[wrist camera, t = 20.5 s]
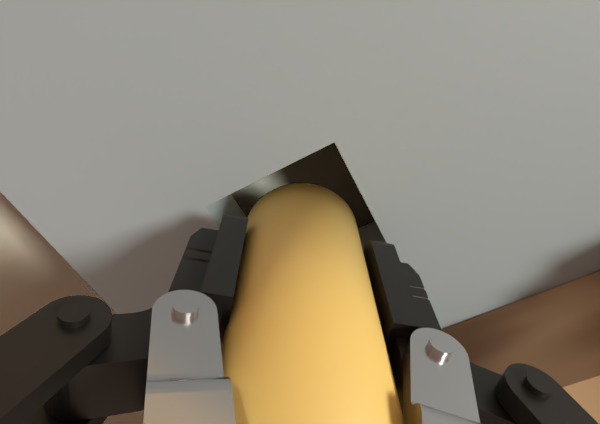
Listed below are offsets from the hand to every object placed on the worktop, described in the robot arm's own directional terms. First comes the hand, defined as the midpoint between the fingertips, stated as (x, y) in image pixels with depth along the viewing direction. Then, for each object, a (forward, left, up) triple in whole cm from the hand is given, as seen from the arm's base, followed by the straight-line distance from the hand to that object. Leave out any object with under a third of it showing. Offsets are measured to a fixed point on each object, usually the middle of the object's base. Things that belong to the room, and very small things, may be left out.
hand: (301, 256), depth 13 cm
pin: (0, 0, -1) cm, 1 cm away
